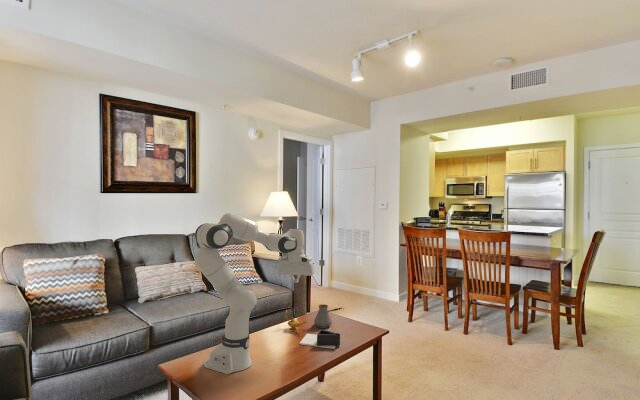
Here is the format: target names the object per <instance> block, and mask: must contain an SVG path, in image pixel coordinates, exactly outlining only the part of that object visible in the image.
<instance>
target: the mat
mask: <svg viewBox="0 0 640 400" xmlns="http://www.w3.org/2000/svg"><path fill="white" fill-rule="evenodd" d="M299 345H302V346H310V347H318V348H324V349H325V348H326V349H333V350H335V349H336V347H337V346H317V334H314V333H306V334H305V335H304V337H303V338H302V339H301V341H300V342H299Z"/></svg>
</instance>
